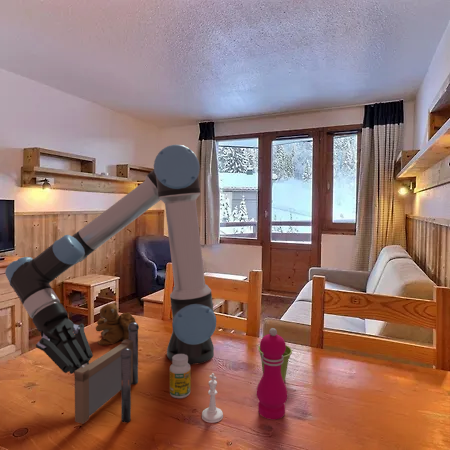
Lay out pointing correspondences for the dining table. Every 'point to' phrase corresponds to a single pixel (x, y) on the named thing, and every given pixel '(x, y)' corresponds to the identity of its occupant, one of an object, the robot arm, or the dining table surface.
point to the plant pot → (285, 361)
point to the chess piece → (212, 404)
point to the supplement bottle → (180, 376)
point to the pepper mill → (272, 377)
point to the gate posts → (128, 372)
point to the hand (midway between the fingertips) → (95, 390)
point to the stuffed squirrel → (113, 324)
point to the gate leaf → (99, 382)
